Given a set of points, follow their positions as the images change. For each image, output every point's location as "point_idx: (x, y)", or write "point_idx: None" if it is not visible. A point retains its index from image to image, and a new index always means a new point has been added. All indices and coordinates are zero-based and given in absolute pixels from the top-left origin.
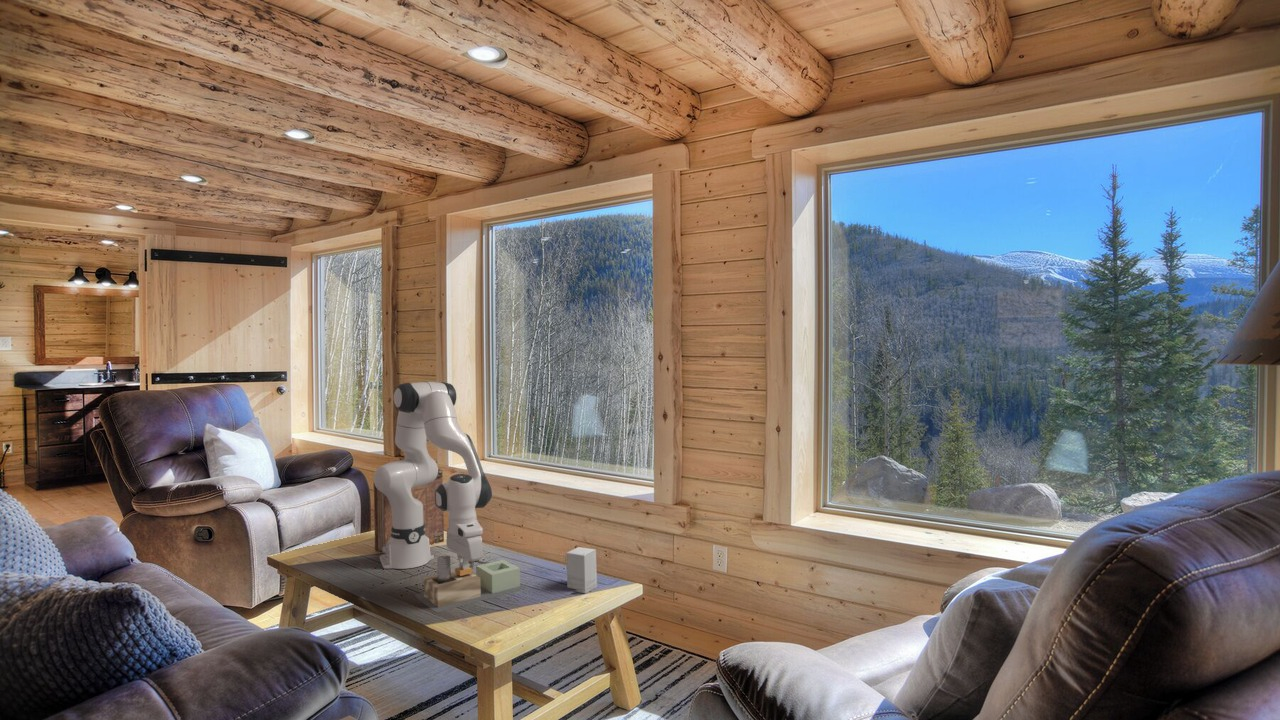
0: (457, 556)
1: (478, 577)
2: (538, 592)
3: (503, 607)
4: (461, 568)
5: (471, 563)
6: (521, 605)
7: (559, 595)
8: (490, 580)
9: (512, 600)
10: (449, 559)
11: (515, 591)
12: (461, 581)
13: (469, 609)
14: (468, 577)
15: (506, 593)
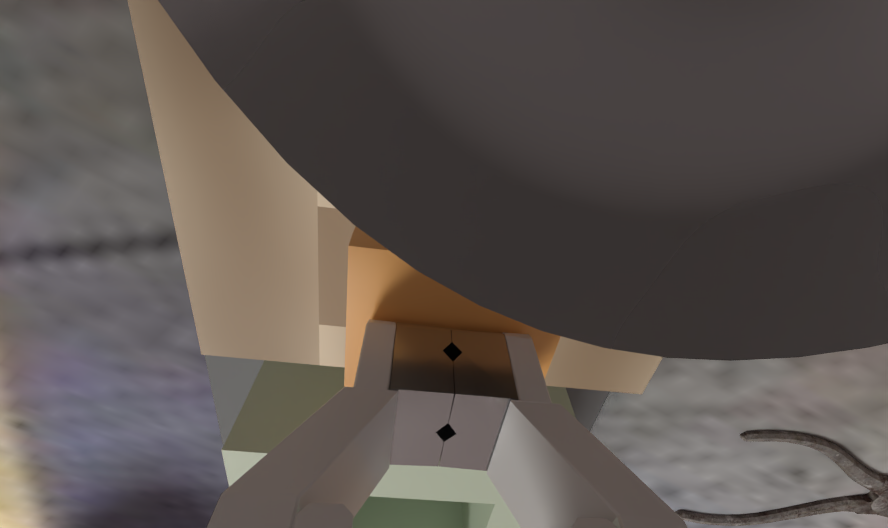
0: (681, 519)
1: (224, 346)
2: (187, 472)
3: (20, 254)
4: (474, 328)
5: (875, 478)
6: (10, 341)
7: (84, 500)
8: (280, 398)
9: (135, 349)
10: (272, 66)
11: (219, 417)
12: (192, 121)
13: (101, 36)
14: (308, 276)
15: (218, 374)
